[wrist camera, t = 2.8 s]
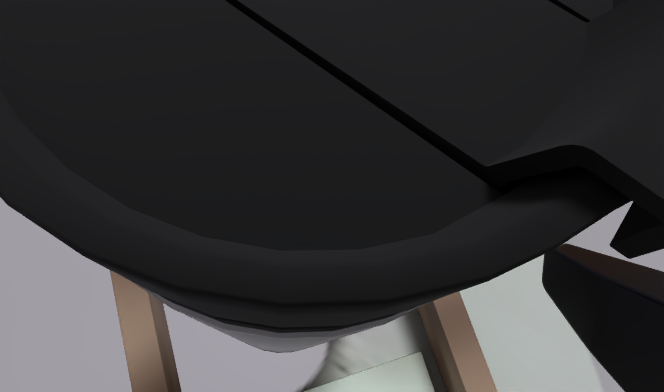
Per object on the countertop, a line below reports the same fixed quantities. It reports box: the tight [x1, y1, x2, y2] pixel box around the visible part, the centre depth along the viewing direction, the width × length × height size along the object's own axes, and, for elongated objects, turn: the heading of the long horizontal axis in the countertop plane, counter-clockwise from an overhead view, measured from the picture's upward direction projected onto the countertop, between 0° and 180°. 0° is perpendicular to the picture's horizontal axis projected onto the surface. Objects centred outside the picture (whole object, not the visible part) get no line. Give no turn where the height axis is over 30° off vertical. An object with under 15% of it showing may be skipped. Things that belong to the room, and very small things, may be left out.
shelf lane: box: [110, 270, 497, 392], centre depth 18 cm, size 21×13×6 cm, turn 18°
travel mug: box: [0, 0, 664, 353], centre depth 13 cm, size 6×7×20 cm
